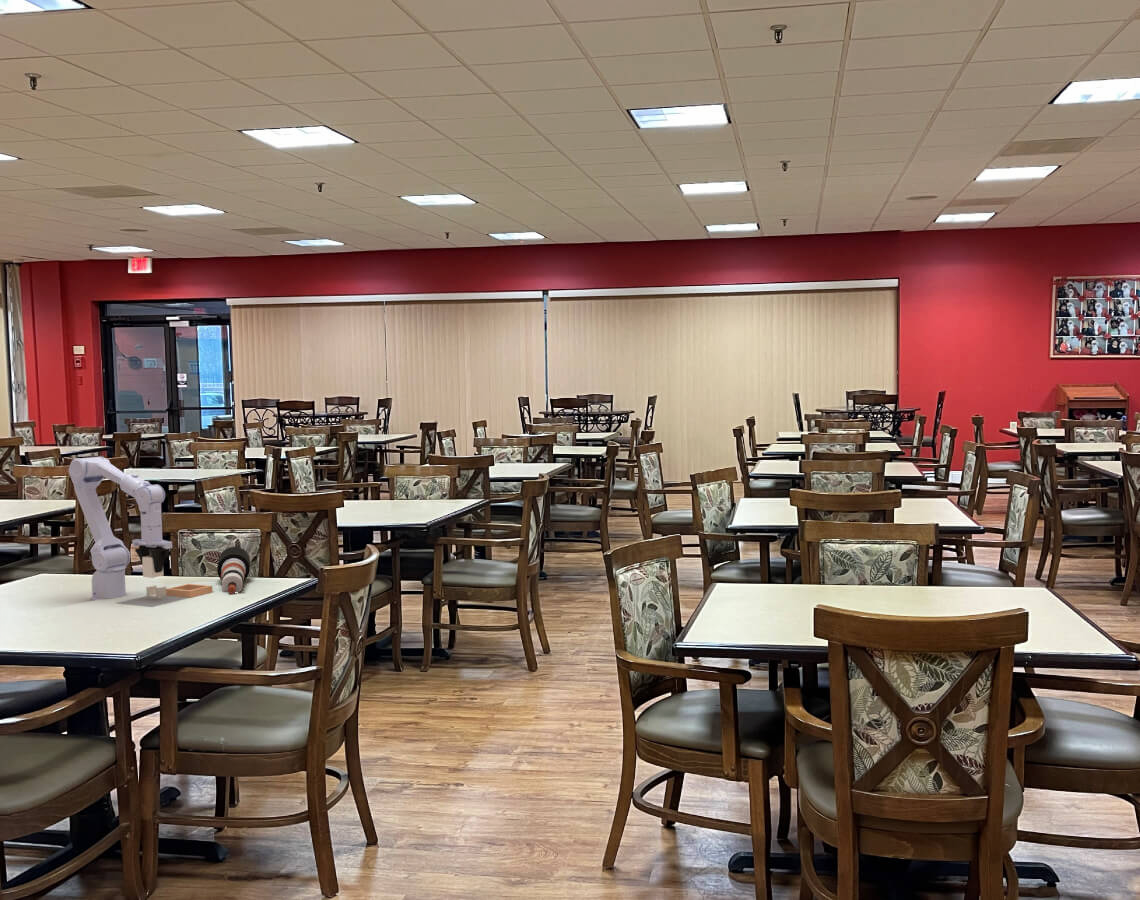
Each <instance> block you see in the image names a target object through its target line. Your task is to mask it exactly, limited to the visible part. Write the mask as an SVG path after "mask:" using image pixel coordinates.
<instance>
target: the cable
mask: <svg viewBox="0 0 1140 900" xmlns="http://www.w3.org/2000/svg"><path fill="white" fill-rule="evenodd" d="M216 572H217V576H218V577H219V579H220V581H221V589H222V591H223V592H224V593H228V594H230V595H232V594H236V593H235V592H239V593H240V592H241V591H242V589H243V585H244V582H245V580H247V578H248V577H249V574H250V572H251V558H250V555H249V553H248V552H247V551H246V550H245V549H244V548H241V547H239V546H231V547H227V548H225V549H224V550H223V551H222V552H221V553H220V554H219V557H218V561H217V569H216Z"/></svg>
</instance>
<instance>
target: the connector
mask: <svg viewBox="0 0 1140 900" xmlns="http://www.w3.org/2000/svg"><path fill="white" fill-rule="evenodd" d="M149 552H150V550H149ZM142 562H143V565H142V577H143V578H149V579H150V578H151V579H155V578H158V577H163V576H164V575H165V574H164V569H163V570H162V572H158V573H155V569H154V562H153V557H152V554H151V552H150V556H145V557H142ZM142 562H141V563H142Z"/></svg>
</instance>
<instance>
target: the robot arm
mask: <svg viewBox="0 0 1140 900" xmlns="http://www.w3.org/2000/svg"><path fill="white" fill-rule="evenodd" d="M67 470H68V471H67V472H68V475H69V477H70V480H71V481H72V483H73V487H74V492H75V495H76V497H77V501H78V503H79V505H80V508H81V510H82V513H83V516H84V518H85V520H86V524H87V525H88V528H89V530H90V533H91V535H92V537H93V541H94V544H93V545H92V547H91V548H90V550H89V552H90V554H91V563H92V566H93V567H94V569H95V570H96V571H94V573H93V574H92V577H91V595H92V597H91V598H89V600H90V601H98V600H102V599H107V600H108V599H117V598H118V599H119V598H123V597H126V596H127V592H126V569H127V566H128V565H129V563H130V562H131V553H130V551H129V549H128V548H127V547H126V546H125V544H124V542H123V541H122V540H121V539H119V538H117V537H116V536H115V535H114V534H113V531H112V527H111V525H110V523H109V520H108V519H107V516H106V514H105V511H104V508H103V506H102V503H101V500H100V499H99V495H98V493H97V487H98V486H100V484H101V482H103V480H104V479H108V480H110V481H112V482H113V483H115V484H118V485H119V487H120V491H123V492H124V493H125V494H127V495H129V496H130V497H133V498H135V502H136V503H137V505H138V510H139V512H140V528H141V529H140V533H141V536H140V537H141V538H140V539H139V538H136V539H132V547H138V548H135V549H134V551H135V553H136V554H137V556H138V558H139V560H140V563H141V566H143V562H142V557H145V556H150V552H151V554H152V557H153V562H154V569H155V573H158V572H162V570H163V571H164V564H165V562H166V558H167V556H168V554H169V553H170V549H173V541H171V540H170V541H169V540H165V539H163V523H162V522H163V521H162V519H163V518H162V517H163V516H162V503H163V502H164V501H165V498H166V491H165V490H164V488H163V487H162V486H161V485H160V484H151V483H150V481H149V480H148V481H147V480H144V479H143V478H141V477H139V475H138V474H137V473H129V474H126V473H125V472H124V471H123V470H120V469H119V468H117V467H116V466H115V465H113V464H112V463H111V461H110V459H108V458H105V457H104V456H103V455H102V456H92V457H82V458H80V457H79V458H78V457H76V458H74V459H72V460H71V462H70V464H69V467H68V469H67ZM149 550H150V552H149Z"/></svg>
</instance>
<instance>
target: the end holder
mask: <svg viewBox="0 0 1140 900" xmlns="http://www.w3.org/2000/svg"><path fill="white" fill-rule="evenodd" d="M166 593H167V596H177V597H187V598H188V599H191V597H192V598H196V597H199V595H200V596H204V595H208V594H211V593H214V591H213V585H210V584H209V585H208V584H198V583H197V584H195V583H186V584H182V585H177V586H171V587H168V588H167V587H166ZM207 593H208V594H207ZM203 594H204V595H203ZM195 596H196V597H195Z"/></svg>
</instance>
